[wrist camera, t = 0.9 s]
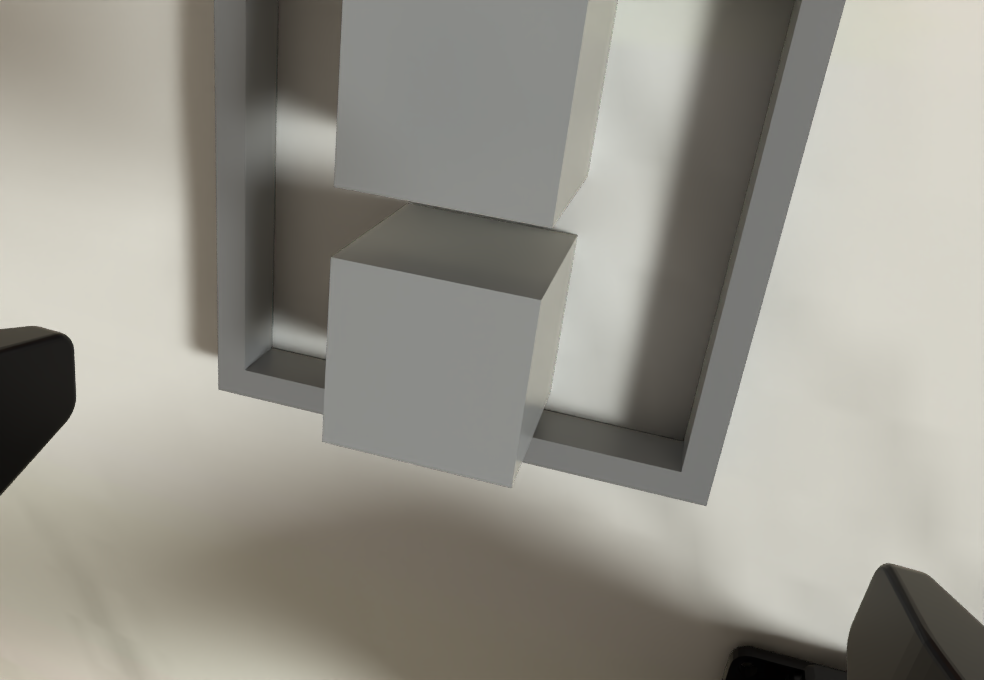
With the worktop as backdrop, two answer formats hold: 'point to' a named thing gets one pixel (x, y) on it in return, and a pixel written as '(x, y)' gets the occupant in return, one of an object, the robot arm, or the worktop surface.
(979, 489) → the worktop surface
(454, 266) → the pale grey block
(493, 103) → the matte grey cube
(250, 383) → the parts tray
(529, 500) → the worktop surface
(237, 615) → the worktop surface
